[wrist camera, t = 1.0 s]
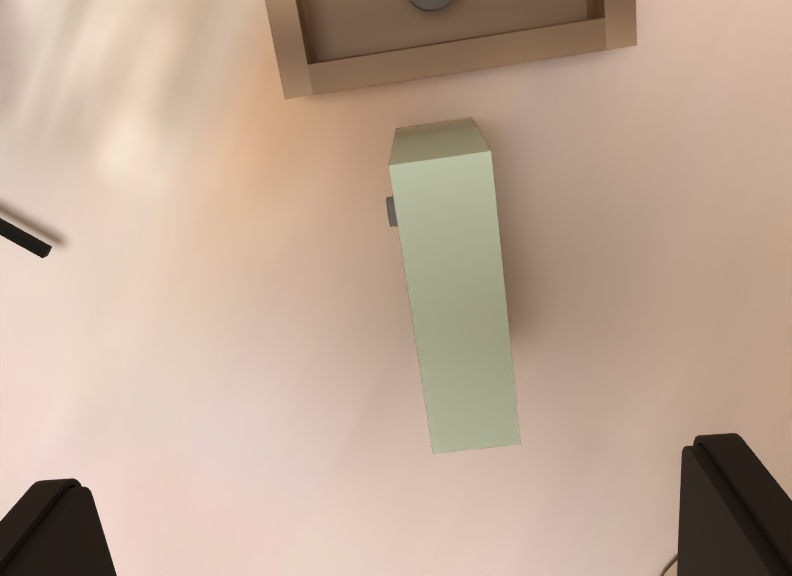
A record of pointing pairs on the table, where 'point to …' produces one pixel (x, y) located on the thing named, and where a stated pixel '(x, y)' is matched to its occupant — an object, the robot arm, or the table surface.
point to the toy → (24, 239)
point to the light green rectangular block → (455, 283)
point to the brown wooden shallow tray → (432, 37)
